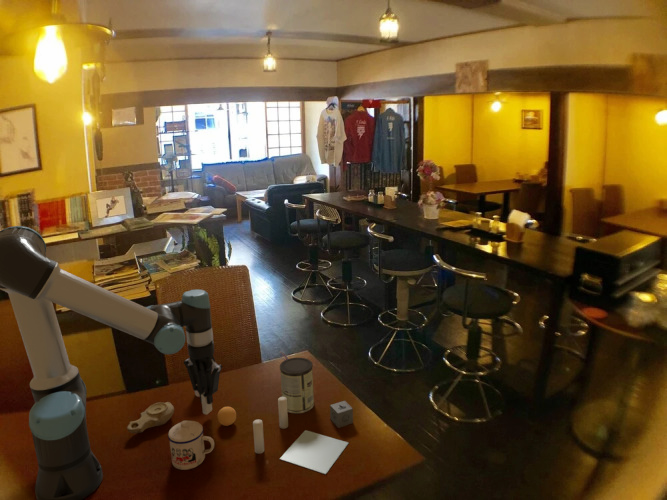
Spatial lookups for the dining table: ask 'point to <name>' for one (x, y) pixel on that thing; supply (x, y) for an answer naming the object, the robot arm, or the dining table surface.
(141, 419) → the oil lamp
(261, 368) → the dining table surface
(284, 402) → the post
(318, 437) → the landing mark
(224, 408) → the ball
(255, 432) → the post
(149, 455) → the dining table surface
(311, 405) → the coffee can
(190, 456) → the teacup with lid
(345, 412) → the dice cube
